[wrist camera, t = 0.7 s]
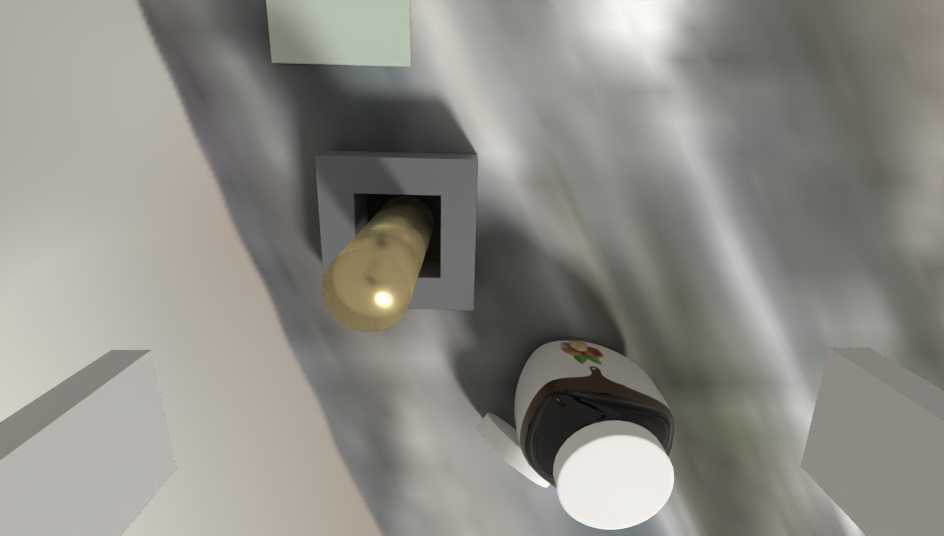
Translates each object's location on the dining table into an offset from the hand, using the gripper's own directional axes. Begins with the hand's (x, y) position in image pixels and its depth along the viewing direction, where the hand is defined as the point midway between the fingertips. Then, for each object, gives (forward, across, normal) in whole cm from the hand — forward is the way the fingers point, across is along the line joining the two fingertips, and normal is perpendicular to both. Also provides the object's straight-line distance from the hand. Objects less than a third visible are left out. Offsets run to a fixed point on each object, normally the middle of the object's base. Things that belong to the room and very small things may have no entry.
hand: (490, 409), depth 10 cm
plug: (+26, -5, -2) cm, 27 cm away
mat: (+26, -9, +13) cm, 30 cm away
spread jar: (+27, +7, -16) cm, 32 cm away
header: (+26, -5, -2) cm, 27 cm away
